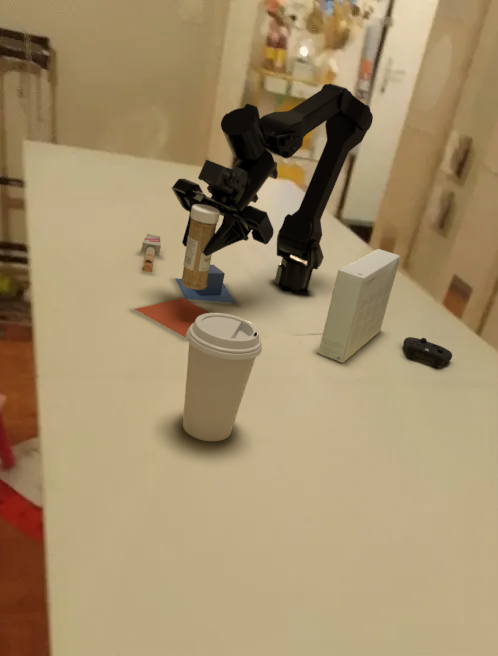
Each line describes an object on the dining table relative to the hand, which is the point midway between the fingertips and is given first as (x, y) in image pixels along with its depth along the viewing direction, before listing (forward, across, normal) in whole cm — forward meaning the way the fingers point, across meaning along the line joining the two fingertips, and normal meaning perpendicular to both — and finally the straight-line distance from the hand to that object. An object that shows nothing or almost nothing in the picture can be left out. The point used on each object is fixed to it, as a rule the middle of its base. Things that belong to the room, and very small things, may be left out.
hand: (194, 249), depth 111 cm
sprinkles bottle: (+4, 0, +6) cm, 7 cm away
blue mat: (-1, -7, +20) cm, 21 cm away
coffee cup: (+26, +24, -7) cm, 36 cm away
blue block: (-1, -7, +20) cm, 21 cm away
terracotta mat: (+8, -1, +10) cm, 13 cm away
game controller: (-12, +34, +32) cm, 48 cm away
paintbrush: (-4, -26, +23) cm, 34 cm away
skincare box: (-7, +22, +26) cm, 34 cm away
